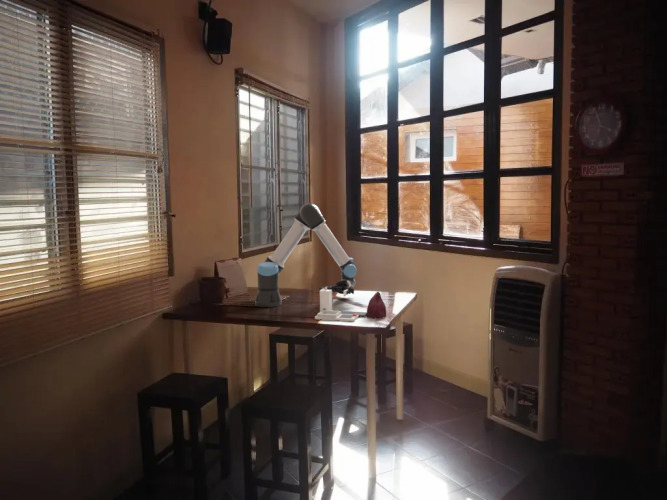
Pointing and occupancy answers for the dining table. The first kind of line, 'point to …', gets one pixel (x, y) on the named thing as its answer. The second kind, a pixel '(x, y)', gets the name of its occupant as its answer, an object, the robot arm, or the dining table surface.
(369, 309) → the vegetable
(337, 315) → the white base tray
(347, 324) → the dining table surface
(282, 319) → the dining table surface
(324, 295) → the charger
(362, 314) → the phone
